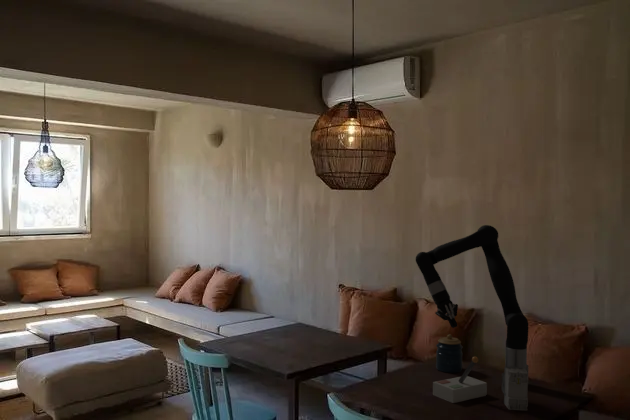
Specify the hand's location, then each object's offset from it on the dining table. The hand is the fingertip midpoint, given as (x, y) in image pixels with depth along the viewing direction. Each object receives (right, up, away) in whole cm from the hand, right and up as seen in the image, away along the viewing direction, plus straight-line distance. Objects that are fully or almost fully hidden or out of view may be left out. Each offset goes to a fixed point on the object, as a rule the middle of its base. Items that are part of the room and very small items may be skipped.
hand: (455, 327), depth 261 cm
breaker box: (-1, -27, -14) cm, 30 cm away
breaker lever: (-1, -21, -14) cm, 25 cm away
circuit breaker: (+18, -27, -24) cm, 41 cm away
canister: (+3, -27, +25) cm, 37 cm away
